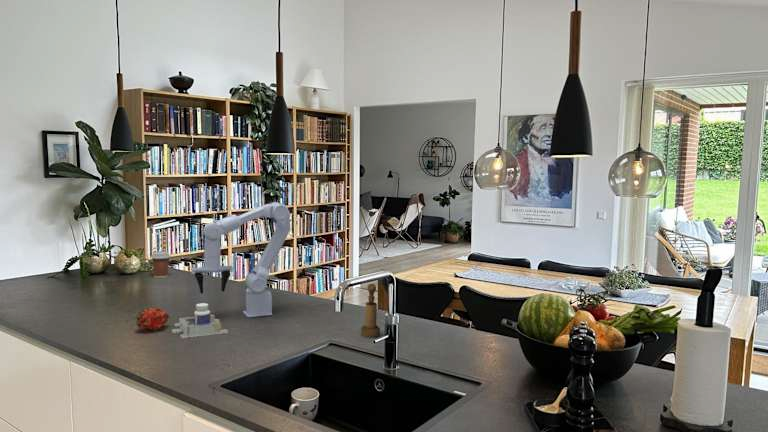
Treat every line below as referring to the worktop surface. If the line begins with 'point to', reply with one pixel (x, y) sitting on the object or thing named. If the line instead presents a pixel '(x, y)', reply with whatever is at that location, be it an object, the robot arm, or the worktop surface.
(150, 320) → the dragon fruit
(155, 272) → the coffee cup
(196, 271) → the robot arm
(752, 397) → the worktop surface
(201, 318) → the pill bottle
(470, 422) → the worktop surface
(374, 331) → the brown wooden tall piece
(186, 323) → the socket
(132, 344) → the worktop surface
